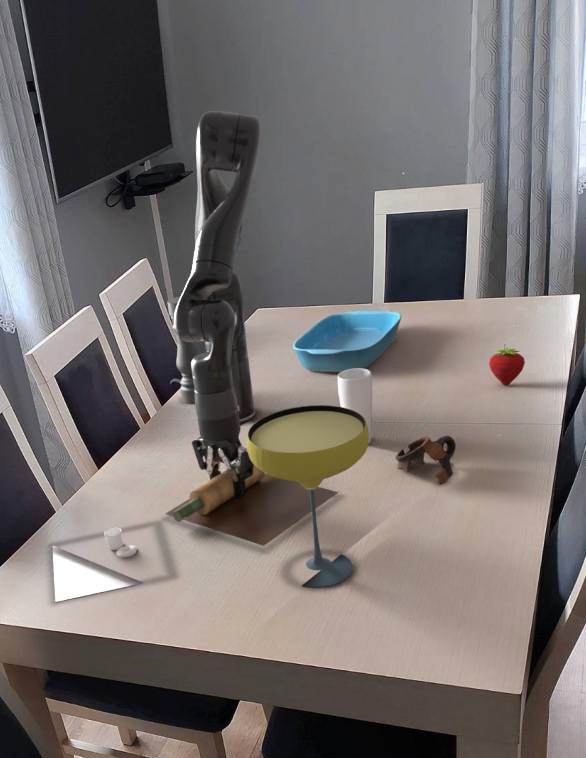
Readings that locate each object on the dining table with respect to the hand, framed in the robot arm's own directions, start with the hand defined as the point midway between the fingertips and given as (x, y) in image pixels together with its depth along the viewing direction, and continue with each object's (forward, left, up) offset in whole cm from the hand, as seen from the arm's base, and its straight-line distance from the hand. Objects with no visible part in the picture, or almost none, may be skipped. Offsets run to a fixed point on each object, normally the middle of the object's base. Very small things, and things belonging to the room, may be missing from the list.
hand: (228, 493), depth 166 cm
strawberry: (+20, +72, -2) cm, 75 cm away
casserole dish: (-26, +78, -2) cm, 82 cm away
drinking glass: (+7, +33, -2) cm, 34 cm away
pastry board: (+5, 0, -2) cm, 6 cm away
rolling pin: (0, 0, -1) cm, 1 cm away
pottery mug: (+27, +27, -2) cm, 38 cm away
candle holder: (-45, +38, -2) cm, 59 cm away
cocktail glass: (+29, -11, -2) cm, 31 cm away
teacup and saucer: (-5, -27, -2) cm, 28 cm away
